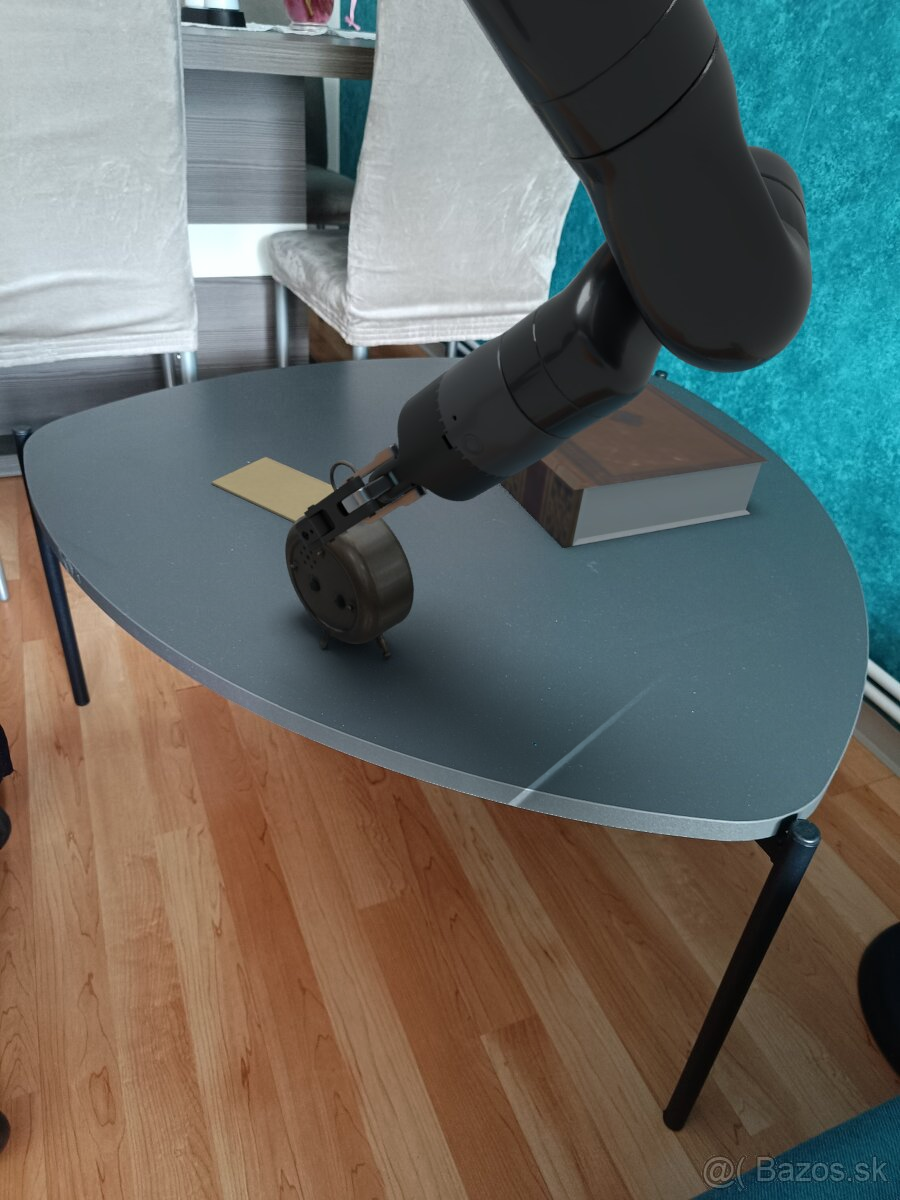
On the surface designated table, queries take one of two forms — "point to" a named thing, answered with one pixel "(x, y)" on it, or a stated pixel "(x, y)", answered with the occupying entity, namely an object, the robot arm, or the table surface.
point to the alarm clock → (352, 580)
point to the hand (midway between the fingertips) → (339, 516)
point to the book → (638, 474)
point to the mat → (275, 488)
